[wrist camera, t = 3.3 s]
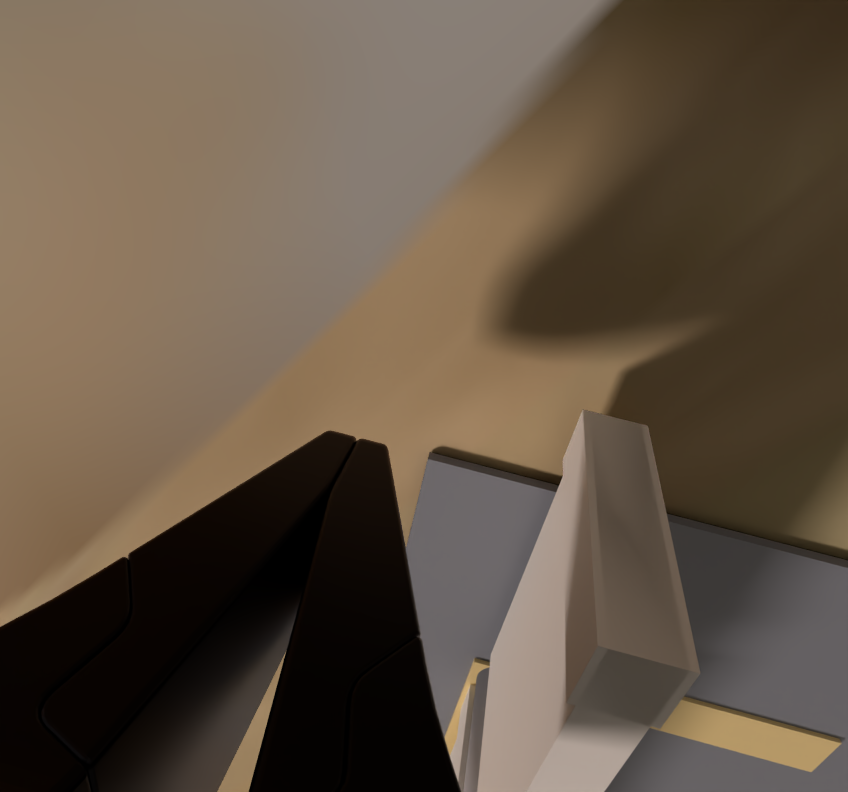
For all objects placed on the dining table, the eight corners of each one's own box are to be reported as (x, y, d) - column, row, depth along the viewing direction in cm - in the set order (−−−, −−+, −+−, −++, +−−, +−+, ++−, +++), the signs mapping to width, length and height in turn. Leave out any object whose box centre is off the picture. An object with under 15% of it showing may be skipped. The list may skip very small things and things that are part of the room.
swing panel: (517, 701, 14) (502, 959, 10) (471, 688, 14) (441, 941, 10) (648, 425, 10) (705, 692, 6) (582, 409, 10) (599, 664, 6)
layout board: (743, 910, 18) (745, 923, 18) (345, 796, 18) (342, 807, 18) (1093, 624, 11) (1105, 639, 11) (429, 451, 11) (426, 462, 11)
